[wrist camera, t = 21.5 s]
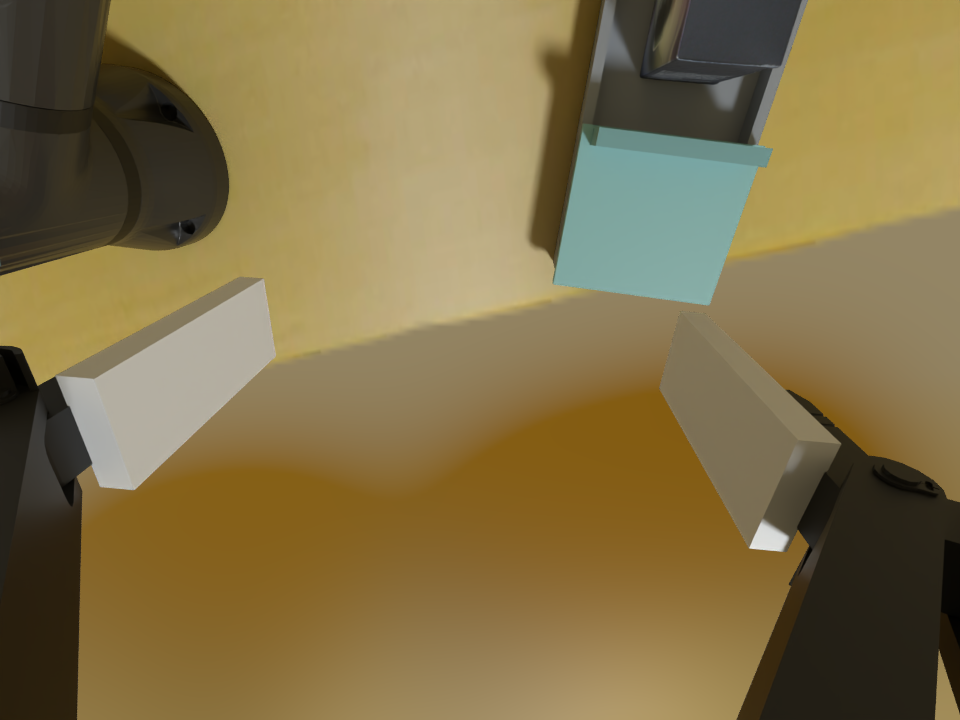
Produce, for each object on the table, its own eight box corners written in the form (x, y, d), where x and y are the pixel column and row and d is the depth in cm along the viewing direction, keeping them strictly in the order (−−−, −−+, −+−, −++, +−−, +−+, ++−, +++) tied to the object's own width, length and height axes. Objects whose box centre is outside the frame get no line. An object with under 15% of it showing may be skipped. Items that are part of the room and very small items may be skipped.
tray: (553, 261, 43) (554, 268, 41) (626, -136, 31) (635, -157, 29) (698, 280, 43) (708, 288, 41) (830, -114, 31) (853, -134, 29)
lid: (552, 281, 41) (555, 294, 38) (582, 123, 36) (588, 122, 32) (705, 301, 41) (722, 317, 37) (759, 146, 35) (785, 147, 32)
